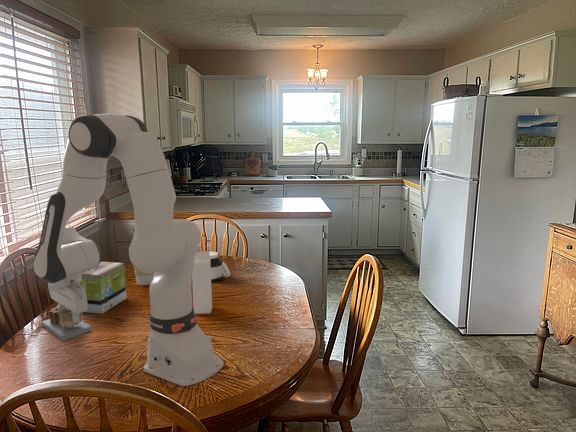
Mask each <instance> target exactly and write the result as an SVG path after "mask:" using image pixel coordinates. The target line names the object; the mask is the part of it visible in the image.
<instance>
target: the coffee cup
mask: <svg viewBox="0 0 576 432" xmlns="http://www.w3.org/2000/svg"><path fill="white" fill-rule="evenodd" d="M133 270H134V275H135V279H136V280H135V281H136V285H138V286H150V283H151V281H152V279H153V277H154V274H155V272H153V273H144V272H141V271H139V270H138V269H136V268H135V267H134V266H133Z"/></svg>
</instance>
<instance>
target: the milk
mask: <svg viewBox="0 0 576 432" xmlns="http://www.w3.org/2000/svg"><path fill="white" fill-rule="evenodd" d="M209 252H210V251H204V250H203V251H196V254H195V260H194V266H193V272H192V280H191V285H192V300H193V302H192V306H193V310H194V312H195V315H201V314H202V315H205V314H211V313H212V310H213V296H212V295H213V294H212V293H213V292H212V291H213V290H212V282H211V263H210V256H209Z"/></svg>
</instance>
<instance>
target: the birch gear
mask: <svg viewBox="0 0 576 432" xmlns="http://www.w3.org/2000/svg"><path fill="white" fill-rule="evenodd" d="M68 312H71V310H69V309H65V310H61V312H60V313H58V315H59V324H60V325H62V327H72V326H74V325H78V324H79V322H81V320H82V313H80V315H79V321H78V322H76V323H74V322H72V319H71V317H72V312H71V313H68Z"/></svg>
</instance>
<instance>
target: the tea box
mask: <svg viewBox="0 0 576 432" xmlns="http://www.w3.org/2000/svg"><path fill="white" fill-rule="evenodd" d="M125 267H126V266H125V263H124V262H113V261H100V264H99V265H98V267H96V268H94V269H92V270H89V271H86V272H83V273H81V276H82V281H81V282H80V283H79V284H80V286H81V287H83V288H84V290H85V292H86V297H87V303H88V309H87V311H85V312H84V313H89V314H99V315H103V314H105V313H106V312H107V311H108V310H110V309H112V308H113V307H115V306H117V305H119V303H121V302H124V301H125V300H127V285H126V270H125V269H126V268H125Z"/></svg>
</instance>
